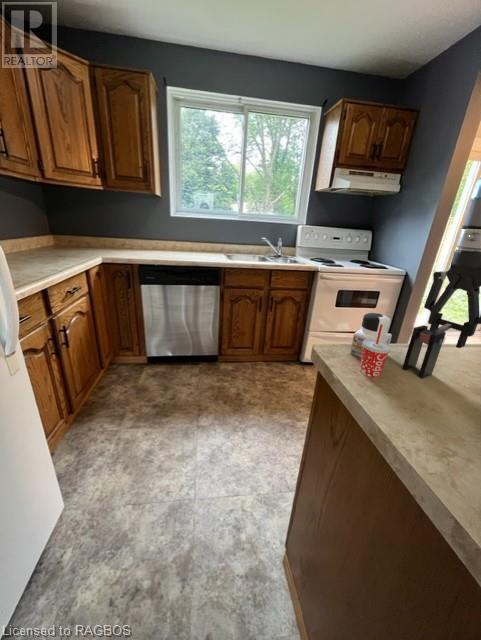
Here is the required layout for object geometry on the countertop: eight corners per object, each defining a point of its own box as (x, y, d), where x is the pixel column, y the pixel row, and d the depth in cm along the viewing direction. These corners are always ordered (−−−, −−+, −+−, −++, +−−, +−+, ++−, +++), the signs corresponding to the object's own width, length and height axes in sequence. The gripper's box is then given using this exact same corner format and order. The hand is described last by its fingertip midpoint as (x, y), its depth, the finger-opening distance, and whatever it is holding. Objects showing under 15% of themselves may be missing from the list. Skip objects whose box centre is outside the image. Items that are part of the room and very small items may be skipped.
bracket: (411, 363, 75) (424, 320, 70) (447, 380, 68) (464, 333, 63) (384, 373, 69) (396, 327, 65) (420, 392, 62) (436, 341, 57)
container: (348, 358, 76) (357, 314, 72) (358, 349, 82) (367, 308, 77) (377, 368, 71) (388, 322, 67) (386, 359, 77) (397, 315, 72)
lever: (438, 324, 72) (440, 316, 71) (464, 332, 67) (467, 323, 66) (410, 338, 67) (412, 329, 66) (436, 348, 62) (438, 339, 61)
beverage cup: (359, 382, 65) (372, 328, 60) (352, 369, 70) (363, 319, 65) (386, 385, 64) (401, 330, 59) (377, 371, 70) (389, 321, 65)
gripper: (423, 246, 68) (401, 330, 76) (524, 255, 53) (483, 360, 61) (439, 245, 72) (416, 326, 80) (538, 254, 56) (497, 354, 64)
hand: (445, 341), depth 70 cm, fingers closed on lever, 6 cm apart
